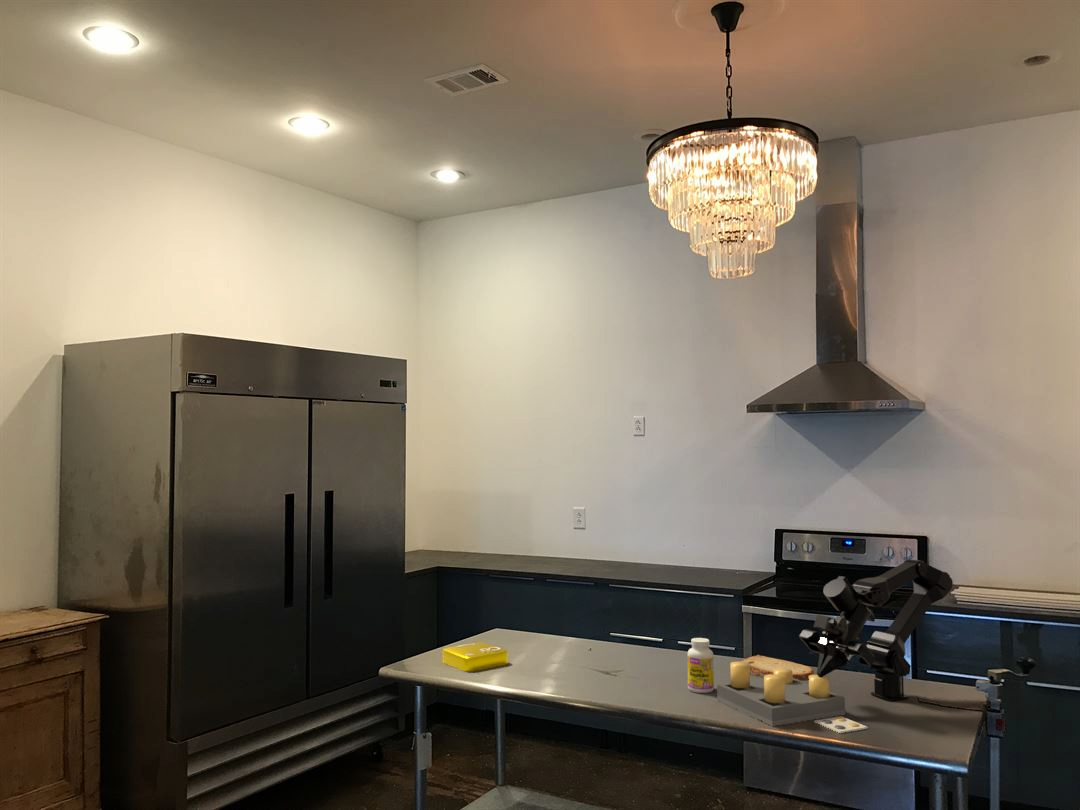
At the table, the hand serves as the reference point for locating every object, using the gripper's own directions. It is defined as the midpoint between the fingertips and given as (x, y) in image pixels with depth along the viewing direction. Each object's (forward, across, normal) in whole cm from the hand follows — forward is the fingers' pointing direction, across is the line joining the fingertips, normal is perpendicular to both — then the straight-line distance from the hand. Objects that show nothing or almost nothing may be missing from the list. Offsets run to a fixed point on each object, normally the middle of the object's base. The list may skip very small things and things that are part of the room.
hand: (818, 675), depth 195 cm
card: (+8, +9, +4) cm, 13 cm away
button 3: (+4, -13, +6) cm, 15 cm away
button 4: (+4, 0, +4) cm, 5 cm away
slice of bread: (-5, -31, +18) cm, 37 cm away
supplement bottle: (+15, -28, -3) cm, 32 cm away
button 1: (+11, -14, -5) cm, 19 cm away
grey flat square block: (+10, -7, +2) cm, 12 cm away
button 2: (+12, -1, -6) cm, 14 cm away
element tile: (+43, -82, -30) cm, 98 cm away
